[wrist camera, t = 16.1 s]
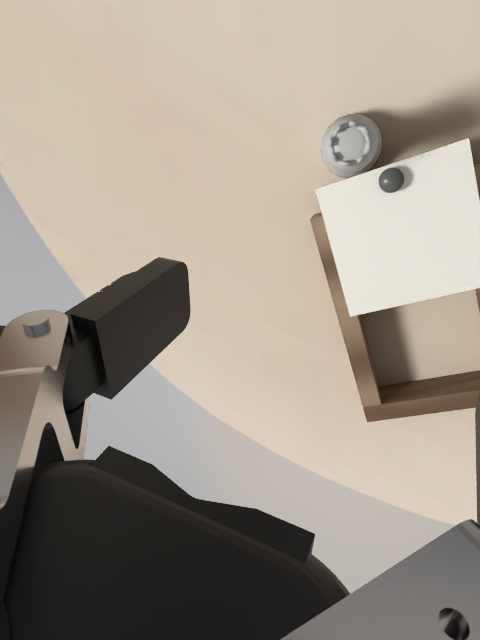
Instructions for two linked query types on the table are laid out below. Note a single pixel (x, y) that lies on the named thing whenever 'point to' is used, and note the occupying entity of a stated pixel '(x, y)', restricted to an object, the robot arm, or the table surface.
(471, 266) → the sliding lid
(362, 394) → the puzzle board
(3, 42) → the table surface
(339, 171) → the rook chess piece
